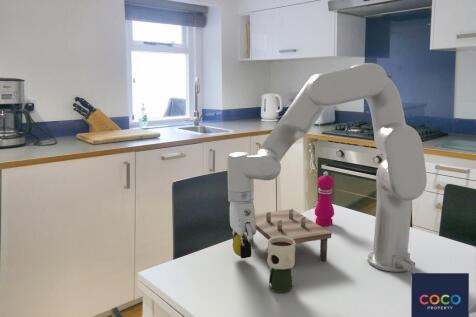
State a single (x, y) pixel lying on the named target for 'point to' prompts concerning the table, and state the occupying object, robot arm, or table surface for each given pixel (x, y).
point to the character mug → (281, 262)
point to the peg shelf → (292, 228)
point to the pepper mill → (324, 201)
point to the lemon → (237, 244)
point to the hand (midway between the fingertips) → (242, 252)
